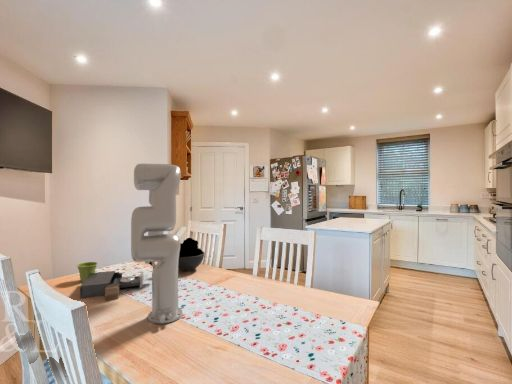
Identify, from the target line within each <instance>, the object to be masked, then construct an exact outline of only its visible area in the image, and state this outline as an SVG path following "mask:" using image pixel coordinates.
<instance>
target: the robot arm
mask: <svg viewBox="0 0 512 384" xmlns="http://www.w3.org/2000/svg"><path fill="white" fill-rule="evenodd" d="M181 176H182V171H181V168H180V166H178V165H176V164H169V163H138V164H136V165H135V167H134V170H133V184H134V188H135V189H136V190H137V191H148V203H149V206H147V205H146V206H138V207H135V208H134V209H133V211H132V213H131V218H130V219H131V220H130V253H131V254H130V255H131V259H132V260H133V261H134V262H136V263H141V262H142V263H143V262H144V264H147V265H150V266H151V267H152V272H151V296H152V297H151V298H152V299H151V301H152V302H151V304H152V305H151V309H152V310H151V311H150V312H149V313H148V315H147V320H148V321H149V322H150V323H153V324H158V325H159V324H161V325H162V324H170V323H172V322H175V321H177V320H178V319H180V318H182V316H183V310H182V308H180V307H179V269H178V260H179V252H180V243H181V239H180V237H179V236H177V235H175V234H173V233H165V234H164V232H172V231H174V229H175V228H176V225H177V200H176V199H177V197H176V196H177V191H178V188H179V185H180V183H181ZM146 233H147V235H145V234H146ZM155 262H157V263H156V264H155Z"/></svg>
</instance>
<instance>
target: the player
mask: <svg viewBox="0 0 512 384" xmlns="http://www.w3.org/2000/svg"><path fill="white" fill-rule="evenodd" d="M115 278H123V272H120V271H117V272H116V270H111V271H99V272H95V273H90V274H89V275H88V277H87V278H86V279H85V281H84V282H82V283H80V285H79V299H85V298H93V297H95V298H96V297H102V296H104V297H105V288H106V286H107V285H115V284H118V283H114V284H113V282H114V279H115Z"/></svg>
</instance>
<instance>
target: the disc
mask: <svg viewBox="0 0 512 384" xmlns="http://www.w3.org/2000/svg"><path fill="white" fill-rule="evenodd" d="M134 281H135V276H131V275H130V276H124V277H123V276H122V278H120V279H119V283H120V284H126V283H133V282H134Z"/></svg>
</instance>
